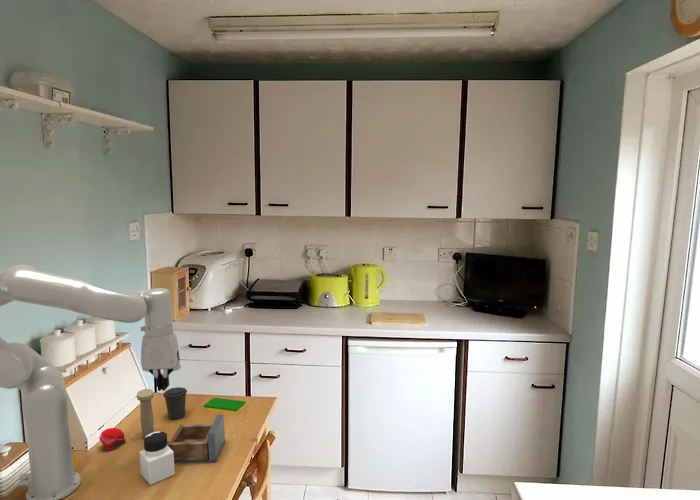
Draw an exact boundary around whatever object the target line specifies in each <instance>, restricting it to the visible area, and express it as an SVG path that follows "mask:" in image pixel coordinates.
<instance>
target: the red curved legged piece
mask: <svg viewBox="0 0 700 500" xmlns="http://www.w3.org/2000/svg"><path fill="white" fill-rule="evenodd" d="M98 439H99V441H100V442H101V443H102V444H103V445H102V446H104V447H105V448H106V449H107V450H109V451H113V448H112V445H114V443H116V442H117V441H118V440H121V441H123V442H124V443H127V442H126V441H127V440H126V439H125V433H124V432H123V431H122V429H120V428H117V427H108V428H105V429H104V430H102V432H101V433H100V435H99V437H98Z"/></svg>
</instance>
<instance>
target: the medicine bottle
mask: <svg viewBox="0 0 700 500" xmlns="http://www.w3.org/2000/svg"><path fill="white" fill-rule="evenodd" d="M143 438H144V437H143ZM167 441H168V434H167V433H166V432H165V431H159V430H158V431H154V432H153V433H150V434H148V435H147V436H146V437H145V438H144V439H143V446H144V447H143V448H144V449H142V450H140V451H139V465H140V474H141V476H142V477H143V478H144V479H145V481H146V482H147V483H148V485H150V486H152V485H155V484H156V483H159V482H161V481H164V480H165V479H168V478H170V477H172V476H175V474H176V464H175V463H174V452H173V451H172V450H171V449H170V448H169V447H168V443H167Z"/></svg>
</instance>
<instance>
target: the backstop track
mask: <svg viewBox="0 0 700 500" xmlns="http://www.w3.org/2000/svg"><path fill="white" fill-rule="evenodd" d="M212 424H213V425H212V427H211V429H210V431H209V433H208V448H209V458H208V460H192V461H174V463H175V465H179V464H181V465H182V464H183V465H185V464H204V463H205V464H206V463H210V464H211V463H217V461H218V460H219V456H220V454H221V452H222V449H223V448H224V445H225V442H226V435H225V433H226V432H225V431H226V430H225V416H224V414H217V415H216V417H215V419H214V420H213V423H212ZM169 442H170V440H167V443H168V444H169Z"/></svg>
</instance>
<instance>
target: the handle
mask: <svg viewBox="0 0 700 500" xmlns="http://www.w3.org/2000/svg"><path fill="white" fill-rule="evenodd" d="M154 394H155V393H154V391H153V389H150V388H145V389H141V390H138V391H137V392H136V399H137V401H140V402H139V404H140V405H139V406H140V428H141V432H142V438H145V437H146V436H147V435H148V434H150V433H153V432H155V431H154V427H155V426H154V425H155V423H154V419H155V418H154V412H153V406H152V405H153V404H152V399H153V398H154V396H155V395H154Z"/></svg>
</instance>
